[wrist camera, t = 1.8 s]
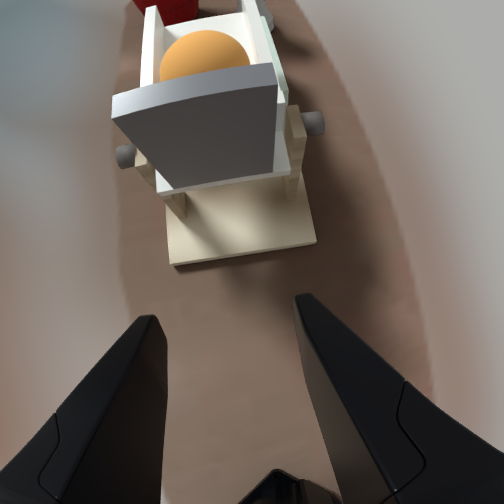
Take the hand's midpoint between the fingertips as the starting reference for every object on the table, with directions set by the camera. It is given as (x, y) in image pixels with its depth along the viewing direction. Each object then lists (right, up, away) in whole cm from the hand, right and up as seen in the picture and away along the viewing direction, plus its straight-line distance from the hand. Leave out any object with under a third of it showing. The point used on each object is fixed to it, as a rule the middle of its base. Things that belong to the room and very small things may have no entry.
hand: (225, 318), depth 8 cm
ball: (-1, +9, +5) cm, 11 cm away
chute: (-1, +10, +7) cm, 13 cm away
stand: (-1, +5, +15) cm, 16 cm away
